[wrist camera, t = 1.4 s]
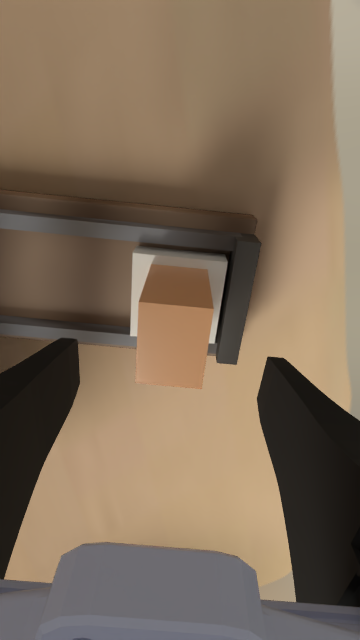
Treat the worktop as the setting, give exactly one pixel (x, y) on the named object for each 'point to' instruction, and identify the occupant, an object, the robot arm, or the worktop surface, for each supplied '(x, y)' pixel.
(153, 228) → the rail board
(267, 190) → the worktop surface
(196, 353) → the block
